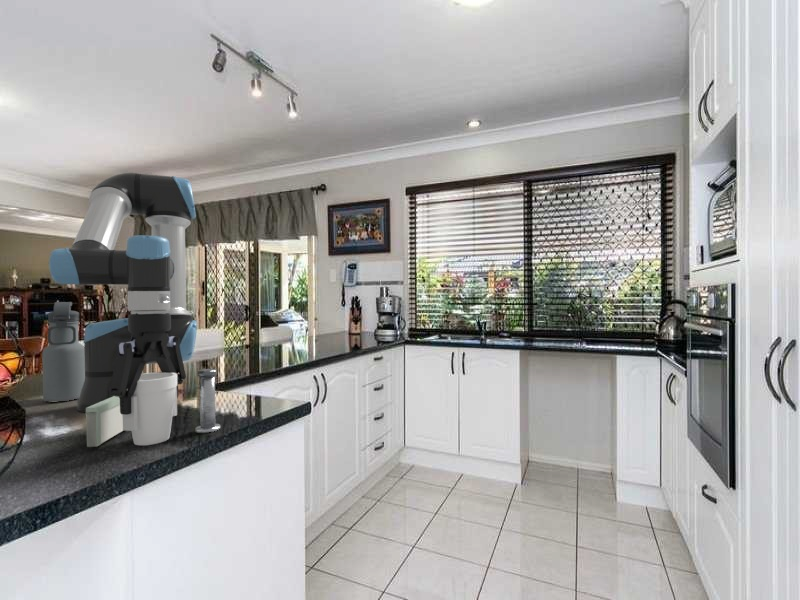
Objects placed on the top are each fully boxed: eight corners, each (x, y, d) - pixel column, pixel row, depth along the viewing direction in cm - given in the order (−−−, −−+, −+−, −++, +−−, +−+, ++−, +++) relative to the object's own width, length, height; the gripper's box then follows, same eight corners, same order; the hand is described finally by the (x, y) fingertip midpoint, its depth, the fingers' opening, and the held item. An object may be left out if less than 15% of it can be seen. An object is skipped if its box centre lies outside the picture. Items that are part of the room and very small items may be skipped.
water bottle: (84, 400, 120) (82, 302, 119) (40, 405, 114) (38, 302, 114) (87, 393, 128) (86, 301, 128) (46, 397, 123) (44, 302, 123)
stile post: (190, 432, 90) (189, 372, 90) (205, 425, 95) (205, 368, 95) (210, 434, 89) (209, 372, 89) (225, 426, 94) (224, 368, 94)
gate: (127, 423, 94) (126, 390, 94) (136, 423, 95) (136, 390, 94) (86, 446, 80) (85, 408, 80) (97, 446, 80) (97, 407, 80)
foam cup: (153, 449, 80) (152, 381, 80) (112, 446, 82) (111, 380, 82) (187, 433, 89) (187, 372, 89) (150, 431, 91) (149, 371, 91)
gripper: (116, 315, 74) (118, 442, 74) (203, 310, 95) (204, 408, 96) (82, 315, 75) (84, 439, 76) (175, 310, 97) (176, 407, 97)
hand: (151, 422), depth 86 cm, fingers closed on foam cup, 9 cm apart
